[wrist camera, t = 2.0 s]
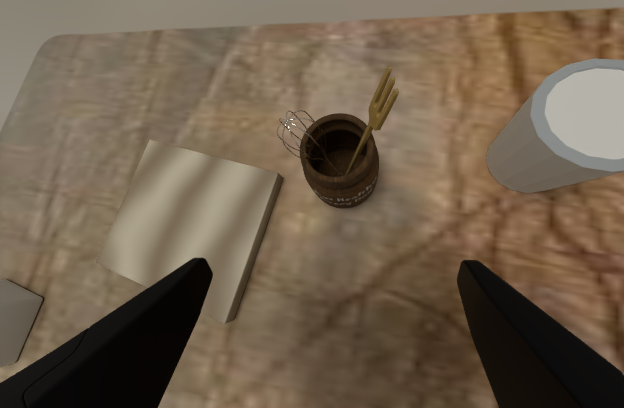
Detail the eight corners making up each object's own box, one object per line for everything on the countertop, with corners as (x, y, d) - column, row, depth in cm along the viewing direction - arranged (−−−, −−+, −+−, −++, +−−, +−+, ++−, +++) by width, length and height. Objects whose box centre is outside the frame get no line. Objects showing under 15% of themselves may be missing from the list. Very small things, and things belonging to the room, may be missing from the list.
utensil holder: (308, 158, 24) (255, 68, 12) (371, 141, 23) (378, 27, 11) (319, 216, 22) (271, 174, 11) (387, 200, 21) (414, 136, 10)
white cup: (459, 160, 21) (503, 115, 14) (519, 106, 21) (593, 35, 14) (530, 218, 19) (620, 197, 12) (597, 159, 19) (727, 106, 12)
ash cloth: (283, 178, 24) (278, 173, 23) (233, 319, 22) (224, 324, 21) (160, 145, 28) (149, 139, 27) (110, 262, 26) (95, 262, 25)
